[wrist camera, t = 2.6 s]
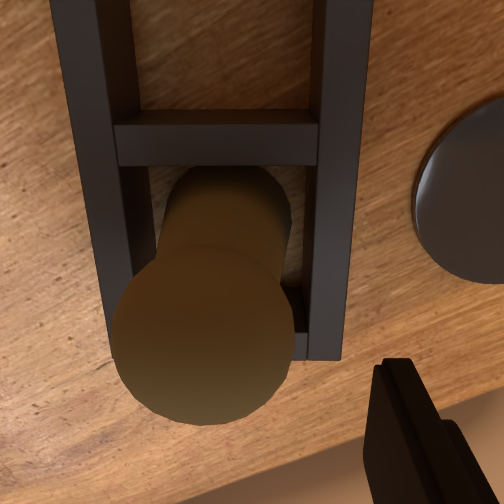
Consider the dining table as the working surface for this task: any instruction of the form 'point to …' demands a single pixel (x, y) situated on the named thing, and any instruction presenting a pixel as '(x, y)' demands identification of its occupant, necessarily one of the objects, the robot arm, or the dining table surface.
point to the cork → (210, 301)
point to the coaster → (465, 196)
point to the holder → (218, 152)
